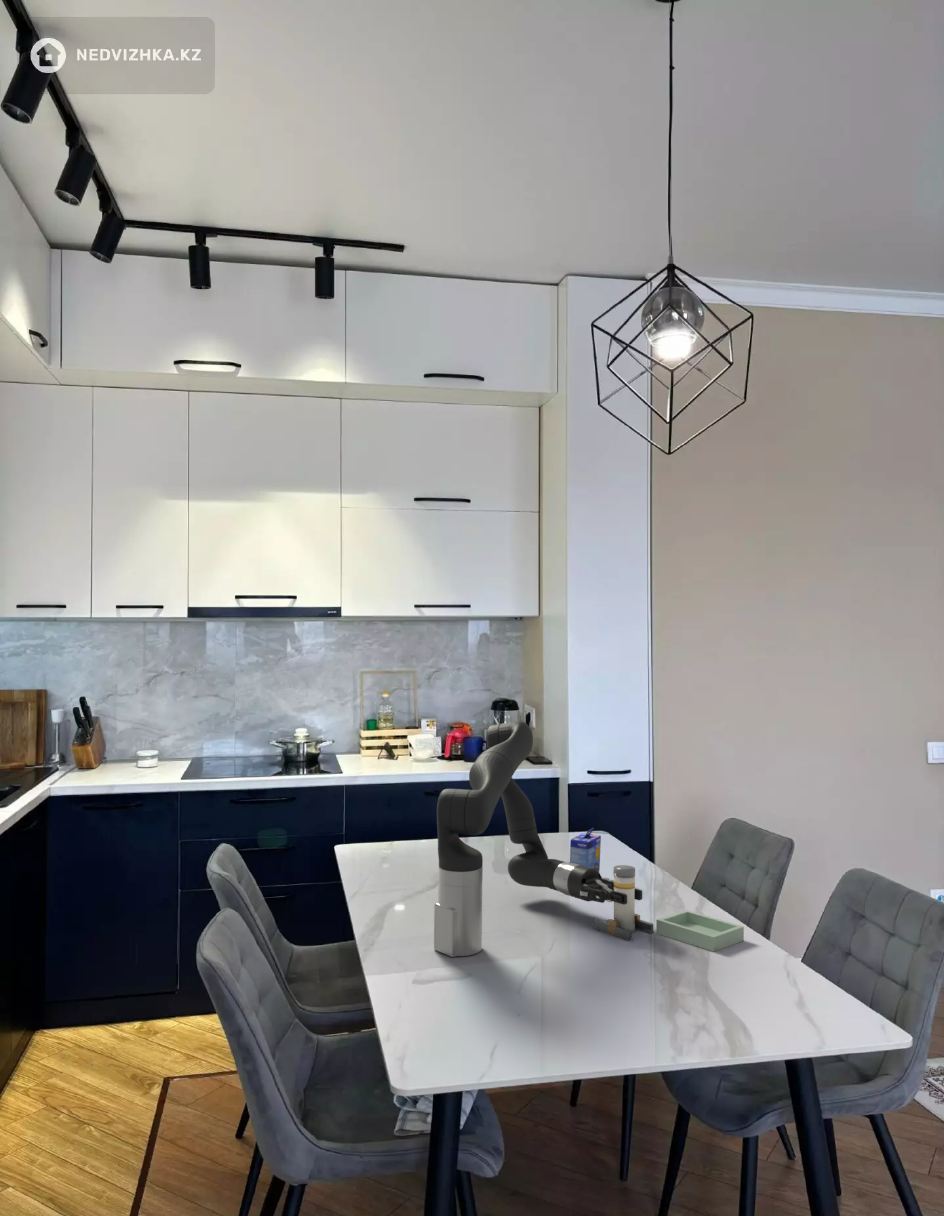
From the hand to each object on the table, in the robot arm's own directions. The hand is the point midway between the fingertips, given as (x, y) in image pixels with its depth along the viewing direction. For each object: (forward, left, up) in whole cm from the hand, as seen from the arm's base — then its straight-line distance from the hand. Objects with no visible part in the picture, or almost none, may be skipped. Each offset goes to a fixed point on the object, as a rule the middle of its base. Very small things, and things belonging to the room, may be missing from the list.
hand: (633, 897), depth 202 cm
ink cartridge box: (+22, +35, -8) cm, 42 cm away
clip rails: (0, +3, -8) cm, 8 cm away
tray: (+10, -10, -8) cm, 16 cm away
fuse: (0, +3, -8) cm, 8 cm away
